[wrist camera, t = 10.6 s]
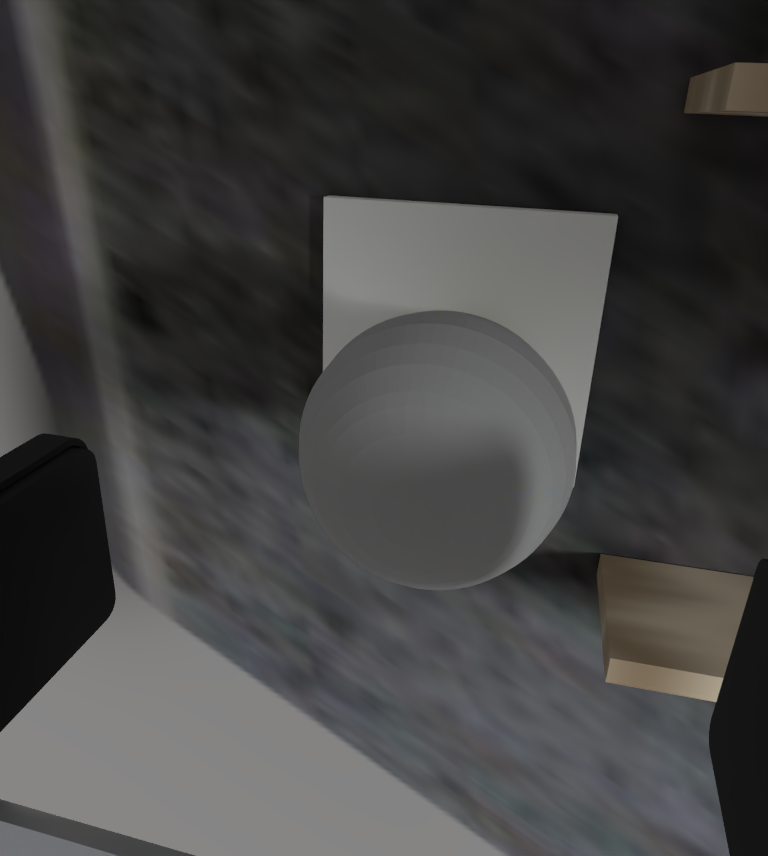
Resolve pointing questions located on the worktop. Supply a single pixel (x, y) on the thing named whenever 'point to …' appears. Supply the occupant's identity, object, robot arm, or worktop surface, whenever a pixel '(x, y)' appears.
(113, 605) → the robot arm
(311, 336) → the worktop surface
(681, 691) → the u-shaped wooden frame
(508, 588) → the worktop surface
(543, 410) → the light bulb
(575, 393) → the grey pad
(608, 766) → the worktop surface
